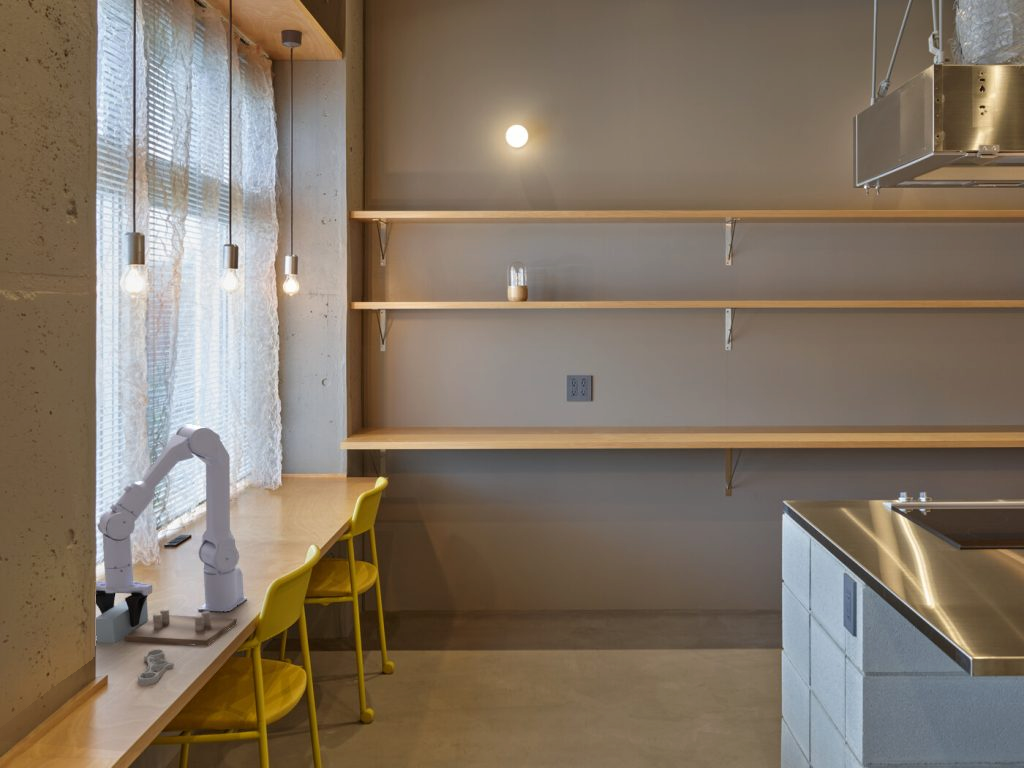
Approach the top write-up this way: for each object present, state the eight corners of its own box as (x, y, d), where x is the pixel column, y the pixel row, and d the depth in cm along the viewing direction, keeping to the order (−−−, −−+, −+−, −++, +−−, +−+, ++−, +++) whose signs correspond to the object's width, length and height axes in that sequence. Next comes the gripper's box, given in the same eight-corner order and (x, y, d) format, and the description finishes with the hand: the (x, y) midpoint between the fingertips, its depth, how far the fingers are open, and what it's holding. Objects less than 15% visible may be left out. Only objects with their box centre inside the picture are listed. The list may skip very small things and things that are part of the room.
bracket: (117, 679, 174) (150, 647, 188) (117, 688, 174) (151, 656, 189) (156, 678, 173) (186, 646, 188) (156, 688, 174) (186, 655, 188)
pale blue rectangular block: (130, 620, 210) (129, 597, 209) (148, 620, 209) (146, 597, 209) (96, 643, 196) (94, 618, 196) (114, 644, 196) (112, 619, 195)
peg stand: (160, 619, 209) (159, 601, 209) (236, 623, 205) (235, 605, 205) (126, 641, 196) (124, 622, 196) (206, 645, 193) (205, 626, 192)
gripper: (77, 569, 199) (81, 629, 200) (137, 571, 196) (141, 632, 197) (98, 559, 206) (101, 618, 207) (156, 562, 203) (159, 621, 204)
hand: (122, 624), depth 203 cm, fingers open, 6 cm apart
